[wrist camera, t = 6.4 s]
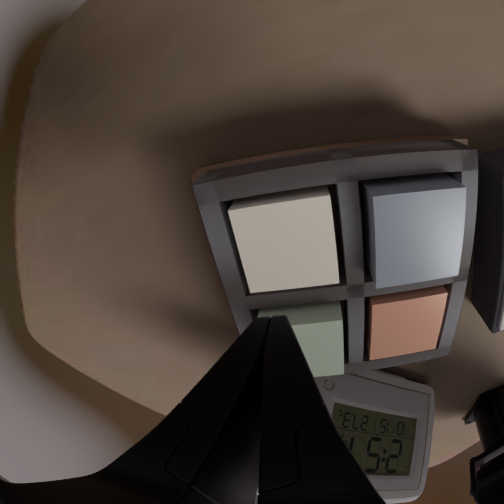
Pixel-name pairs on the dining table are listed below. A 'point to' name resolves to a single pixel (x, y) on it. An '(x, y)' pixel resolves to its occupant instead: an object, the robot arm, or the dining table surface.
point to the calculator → (490, 241)
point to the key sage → (316, 334)
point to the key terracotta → (404, 321)
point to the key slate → (413, 227)
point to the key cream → (286, 239)
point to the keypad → (338, 227)
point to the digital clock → (384, 428)
